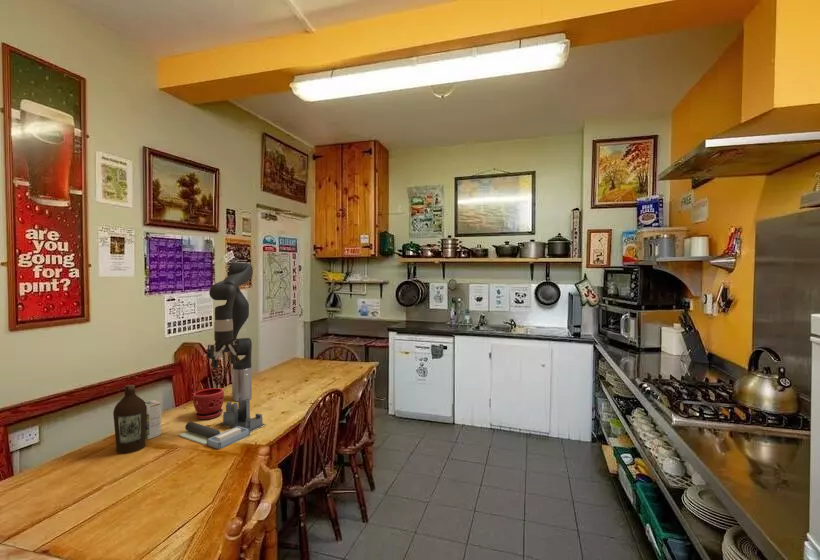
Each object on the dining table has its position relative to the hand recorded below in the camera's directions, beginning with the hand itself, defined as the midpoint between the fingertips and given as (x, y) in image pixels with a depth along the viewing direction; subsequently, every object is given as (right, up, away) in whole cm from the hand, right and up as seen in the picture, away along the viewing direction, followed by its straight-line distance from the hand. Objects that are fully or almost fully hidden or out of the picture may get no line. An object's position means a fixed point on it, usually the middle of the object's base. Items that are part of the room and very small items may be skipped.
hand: (224, 365), depth 170 cm
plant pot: (-15, -28, +15) cm, 35 cm away
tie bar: (+7, -28, -11) cm, 31 cm away
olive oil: (-28, -29, -18) cm, 44 cm away
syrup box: (-28, -29, -7) cm, 41 cm away
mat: (-6, -28, -7) cm, 30 cm away
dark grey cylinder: (-6, -28, -7) cm, 29 cm away
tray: (+7, -28, -11) cm, 31 cm away
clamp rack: (+6, -28, +4) cm, 29 cm away
